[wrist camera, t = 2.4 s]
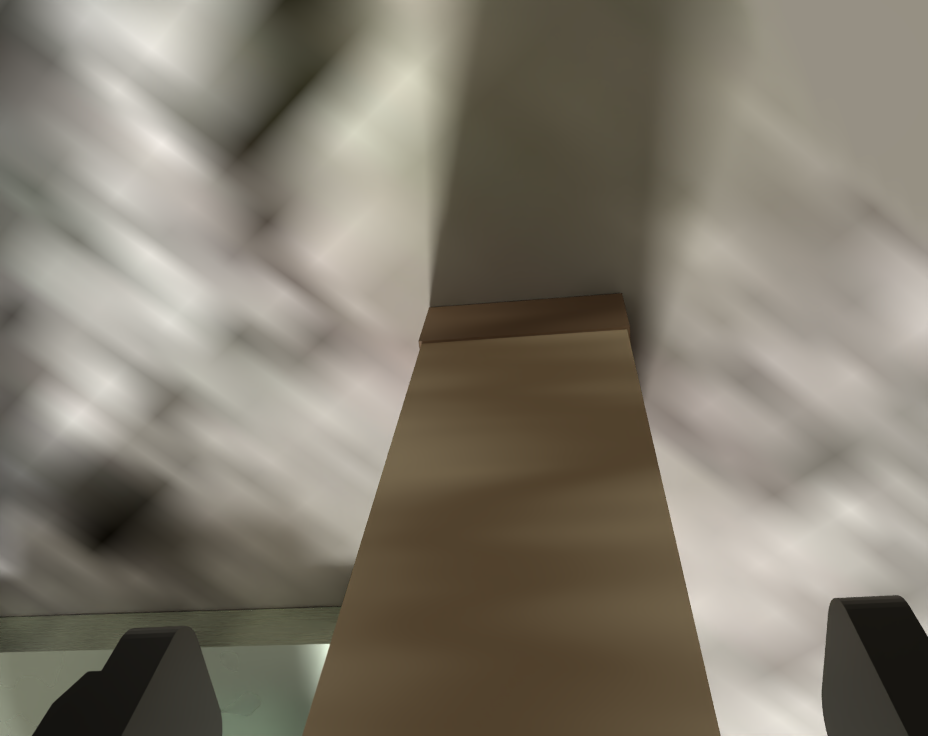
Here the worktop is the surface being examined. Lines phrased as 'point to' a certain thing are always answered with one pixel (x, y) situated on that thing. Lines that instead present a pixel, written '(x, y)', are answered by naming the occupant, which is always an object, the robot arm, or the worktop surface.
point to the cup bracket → (223, 647)
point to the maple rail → (518, 545)
